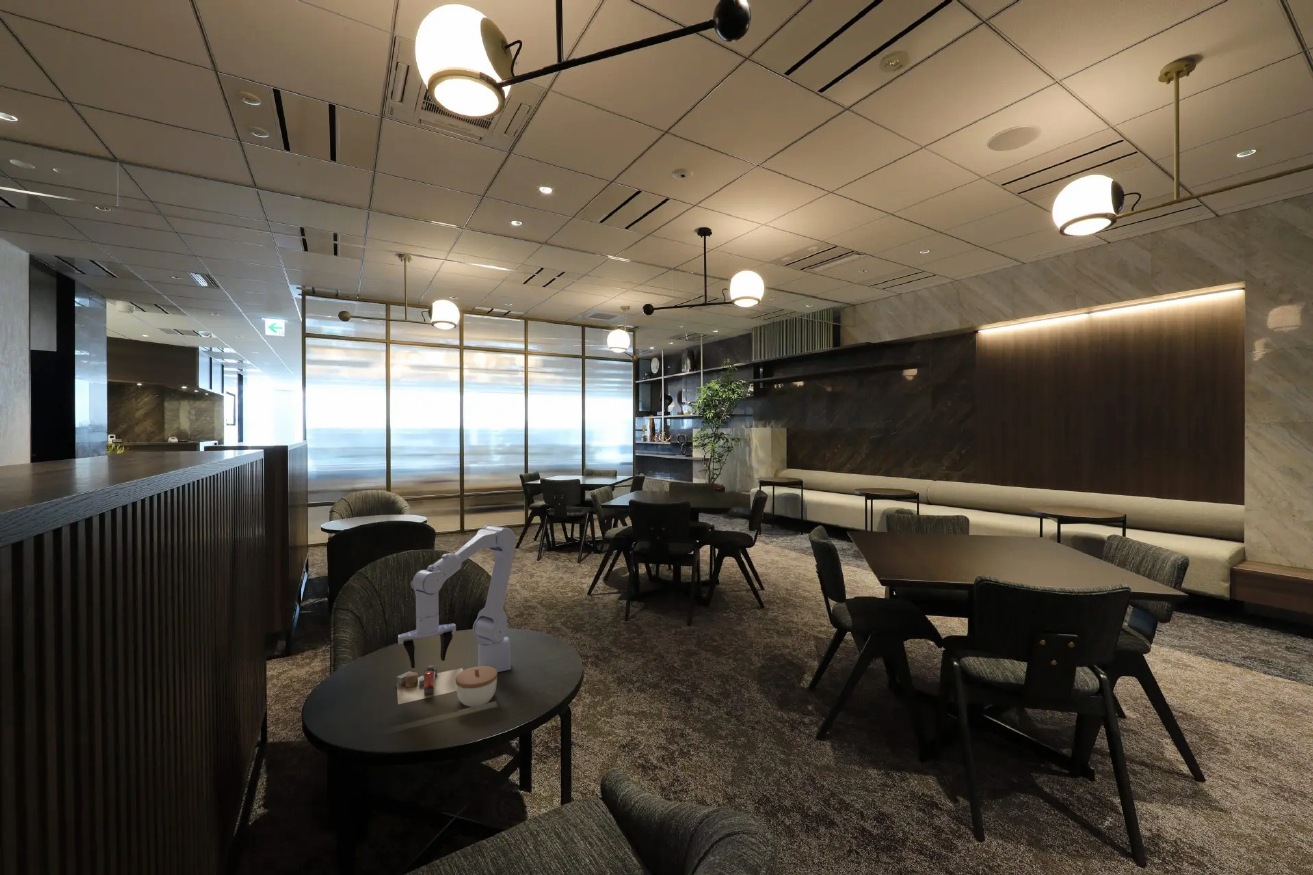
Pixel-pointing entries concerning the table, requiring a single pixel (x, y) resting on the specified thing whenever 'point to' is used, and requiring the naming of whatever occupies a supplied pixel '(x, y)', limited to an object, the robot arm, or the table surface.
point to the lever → (428, 681)
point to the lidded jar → (476, 686)
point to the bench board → (442, 685)
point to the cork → (411, 680)
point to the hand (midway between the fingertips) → (428, 663)
